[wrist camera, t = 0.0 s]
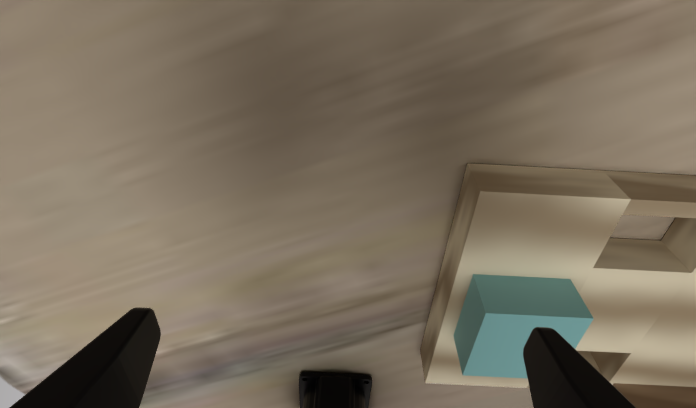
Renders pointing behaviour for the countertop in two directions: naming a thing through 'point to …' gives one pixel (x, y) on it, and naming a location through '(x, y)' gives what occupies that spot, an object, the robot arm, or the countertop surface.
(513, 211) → the wooden tray
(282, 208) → the countertop surface
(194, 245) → the countertop surface
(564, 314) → the block
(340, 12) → the countertop surface
